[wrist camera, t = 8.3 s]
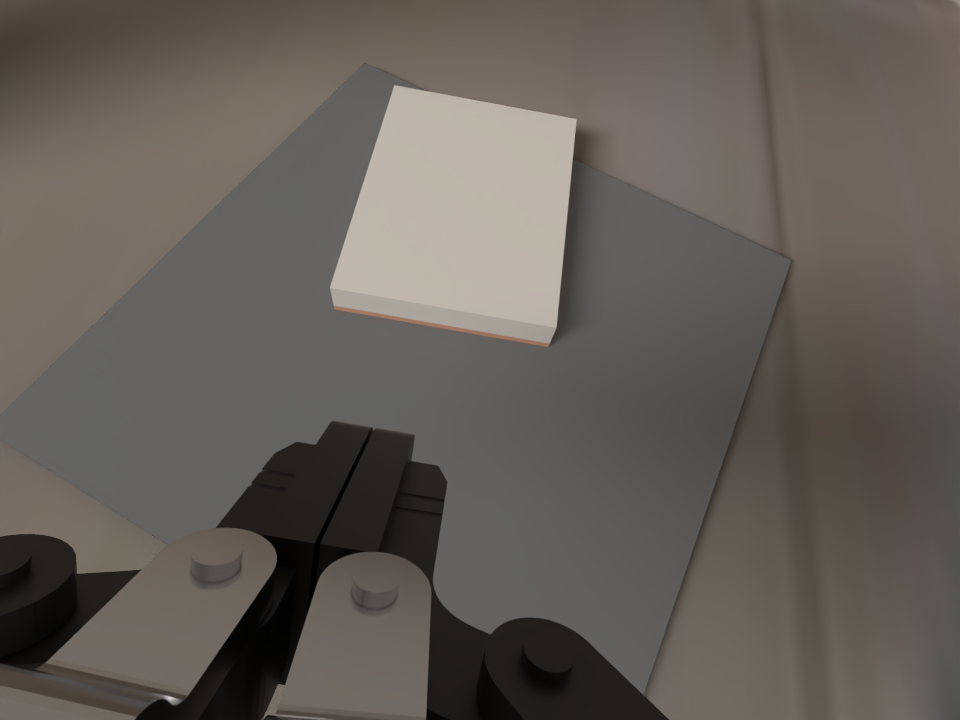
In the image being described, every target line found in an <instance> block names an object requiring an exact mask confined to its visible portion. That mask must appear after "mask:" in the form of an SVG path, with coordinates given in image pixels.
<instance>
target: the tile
mask: <svg viewBox="0 0 960 720" xmlns="http://www.w3.org/2000/svg"><path fill="white" fill-rule="evenodd" d="M576 120H577V119H573V118H567V117H562V116H557V115H551V114H546V113H540V112H535V111H530V110H524V109H519V108H514V107H508V106H503V105H498V104H492V103H487V102H482V101H476V100H471V99H465V98H460V97H455V96H449V95H444V94H439V93H433V92H428V91H423V90H417V89H412V88H406V87H401V86H396V85H394V88H393V91H392V94H391V97H390V101H389V104H388V107H387V110H386V113H385V116H384V119H383V123H382V126H381V129H380V132H379V135H378V138H377V141H376V144H375V148H374V151H373V154H372V157H371V160H370V163H369V166H368V170H367V173H366V176H365V179H364V182H363V185H362V188H361V191H360V195H359V198H358V201H357V204H356V207H355V210H354V213H353V217H352V220H351V223H350V226H349V229H348V232H347V235H346V239H345V242H344V245H343V248H342V251H341V254H340V257H339V260H338V264H337V267H336V270H335V273H334V276H333V279H332V282H331V286H330V291H331V295H332V300H333V304H334V309H335V310H341V311H346V312H352V313H358V314H363V315H369V316H375V317H380V318H386V319H392V320H397V321H403V322H409V323H414V324H420V325H425V326H431V327H437V328H442V329H448V330H454V331H459V332H465V333H471V334H476V335H482V336H488V337H493V338H499V339H505V340H510V341H516V342H522V343H527V344H533V345H539V346H544V347H548V346H549V344H550V342H551V339H552V337H553V335H554V333H555V330H556V328H557V317H558V307H559V297H560V286H561V276H562V265H563V255H564V245H565V234H566V224H567V213H568V203H569V192H570V182H571V172H572V161H573V151H574V140H575V130H576Z"/></svg>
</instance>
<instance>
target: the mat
mask: <svg viewBox="0 0 960 720" xmlns="http://www.w3.org/2000/svg"><path fill="white" fill-rule="evenodd" d="M394 85H396V86H401V87H406V88H412V89H417V90H422V89H420V88H418V87H416V86H414V85H411V84H409V83H407V82H405V81H403V80H401V79H399V78H396V77H394V76H392V75H390V74H388V73H386V72H383V71H381V70H379V69H377V68H375V67H373V66H370V65H368V64H366V63H364V64H363V65H362V66H361V67H360V68H359V69H358V70H357V71H356V72H355V73H354V74H353V75H352V76H351V77H350V78H349V79H348V80H347V81H346V82H345V83H344V84H343V85H342V86H341V87H339V88H338V89H337V90H336V91H335V92H334V93H333V94H332V95H331V96H330V97H329V98H328V99H327V100H326V101H325V102H324V103H323V104H322V105H321V106H320V107H319V108H318V109H317V110H316V111H315V112H314V113H313V114H312V115H310V116H309V117H308V118H307V119H306V120H305V121H304V122H303V123H302V124H301V125H300V126H299V127H298V128H297V129H296V130H295V131H294V132H293V133H292V134H291V135H290V136H289V137H288V138H287V139H286V140H285V141H284V142H282V143H281V144H280V145H279V146H278V147H277V148H276V149H275V150H274V151H273V152H272V153H271V154H270V155H269V156H268V157H267V158H266V159H265V160H264V161H263V162H262V163H261V164H260V165H259V166H258V167H257V168H256V169H255V170H253V171H252V172H251V173H250V174H249V175H248V176H247V177H246V178H245V179H244V180H243V181H242V182H241V183H240V184H239V185H238V186H237V187H236V188H235V189H234V190H233V191H232V192H231V193H230V194H229V195H228V196H227V197H226V198H224V199H223V200H222V201H221V202H220V203H219V204H218V205H217V206H216V207H215V208H214V209H213V210H212V211H211V212H210V213H209V214H208V215H207V216H206V217H205V218H204V219H203V220H202V221H201V222H200V223H199V224H198V225H196V226H195V227H194V228H193V229H192V230H191V231H190V232H189V233H188V234H187V235H186V236H185V237H184V238H183V239H182V240H181V241H180V242H179V243H178V244H177V245H176V246H175V247H174V248H173V249H172V250H171V251H170V252H169V253H167V254H166V255H165V256H164V257H163V258H162V259H161V260H160V261H159V262H158V263H157V264H156V265H155V266H154V267H153V268H152V269H151V270H150V271H149V272H148V273H147V274H146V275H145V276H144V277H143V278H142V279H141V280H139V281H138V282H137V283H136V284H135V285H134V286H133V287H132V288H131V289H130V290H129V291H128V292H127V293H126V294H125V295H124V296H123V297H122V298H121V299H120V300H119V301H118V302H117V303H116V304H115V305H114V306H113V307H112V308H110V309H109V310H108V311H107V312H106V313H105V314H104V315H103V316H102V317H101V318H100V319H99V320H98V321H97V322H96V323H95V324H94V325H93V326H92V327H91V328H90V329H89V330H88V331H87V332H86V333H85V334H84V335H82V336H81V337H80V338H79V339H78V340H77V341H76V342H75V343H74V344H73V345H72V346H71V347H70V348H69V349H68V350H67V351H66V352H65V353H64V354H63V355H62V356H61V357H60V358H59V359H58V360H57V361H56V362H55V363H53V364H52V365H51V366H50V367H49V368H48V369H47V370H46V371H45V372H44V373H43V374H42V375H41V376H40V377H39V378H38V379H37V380H36V381H35V382H34V383H33V384H32V385H31V386H30V387H29V388H28V389H27V390H26V391H24V392H23V393H22V394H21V395H20V396H19V397H18V398H17V399H16V400H15V401H14V402H13V403H12V404H11V405H10V406H9V407H8V408H7V409H6V410H5V411H4V412H3V413H2V414H1V415H0V440H2V441H3V442H5V443H6V444H8V445H10V446H11V447H13V448H14V449H16V450H18V451H19V452H21V453H22V454H24V455H25V456H27V457H29V458H30V459H32V460H33V461H35V462H37V463H38V464H40V465H41V466H43V467H45V468H46V469H48V470H49V471H51V472H53V473H54V474H56V475H57V476H59V477H61V478H62V479H64V480H65V481H67V482H69V483H70V484H72V485H73V486H75V487H77V488H78V489H80V490H81V491H83V492H85V493H86V494H88V495H89V496H91V497H92V498H94V499H96V500H97V501H99V502H100V503H102V504H104V505H105V506H107V507H108V508H110V509H112V510H113V511H115V512H116V513H118V514H120V515H121V516H123V517H124V518H126V519H128V520H129V521H131V522H132V523H134V524H136V525H137V526H139V527H140V528H142V529H144V530H145V531H147V532H148V533H150V534H152V535H153V536H155V537H156V538H158V539H159V540H161V541H163V542H164V543H166V544H167V545H168V544H170V543H172V542H173V541H175V540H176V539H178V538H181V537H183V536H185V535H188V534H190V533H193V532H197V531H201V530H205V529H212V528H216V527H217V525H218V524H219V523H220V522H221V520H222V519H223V518H224V517H225V515H226V514H227V513H228V512H229V510H230V509H231V508H232V506H233V505H234V504H235V503H236V501H237V500H238V499H239V498H240V496H241V495H242V494H243V493H244V491H245V490H246V489H247V487H248V486H251V483H252V481H253V480H254V479H255V477H256V476H257V475H258V474H259V472H262V468H263V467H264V466H265V465H266V463H267V462H268V461H269V460H270V458H271V457H272V456H273V455H274V453H276V452H278V451H280V450H282V449H284V448H286V447H288V446H289V445H291V444H293V443H295V442H302V443H308V444H313V445H316V444H317V442H318V441H319V439H320V438H321V436H322V434H323V433H324V431H325V430H326V428H327V427H328V425H329V424H330V422H331V421H339V422H345V423H351V424H356V425H362V426H368V427H373V431H374V429H375V428H380V429H386V430H392V431H398V432H404V433H409V434H415V440H414V448H413V454H412V461H414V462H420V463H426V464H432V465H438V466H439V468H440V470H441V471H442V473H443V475H444V477H445V479H446V480H447V482H448V483H447V489H446V496H445V502H444V509H443V515H442V522H441V528H440V535H439V541H438V548H437V554H436V561H435V567H434V574H433V585H434V590H435V592H436V595H437V597H438V598H439V600H440V601H441V603H442V604H443V605H444V606H445V608H446V609H447V610H448V611H449V612H451V613H452V614H453V615H454V616H455V617H457V618H458V619H460V620H461V621H463V622H465V623H467V624H469V625H471V626H473V627H475V628H477V629H479V630H482V631H484V632H486V633H488V634H492V632H493V631H494V630H495V629H496V628H497V627H499V626H500V625H502V624H503V623H505V622H507V621H510V620H513V619H517V618H524V617H534V618H542V619H547V620H551V621H554V622H557V623H559V624H562V625H564V626H566V627H568V628H570V629H572V630H573V631H575V632H576V633H578V634H579V635H581V636H582V637H583V638H584V639H585V640H587V641H588V642H589V643H590V644H591V645H592V646H593V647H594V648H595V649H596V650H597V651H598V652H599V653H600V654H601V655H602V656H603V657H604V658H605V659H606V660H608V661H609V662H610V663H611V664H612V665H613V666H614V667H615V668H616V669H617V670H618V671H619V672H620V673H621V674H622V675H623V676H624V677H625V678H626V679H627V680H628V681H629V682H630V683H631V684H632V685H633V686H634V687H636V688H637V689H638V690H639V691H640V692H641V693H642V694H643V695H644V692H645V689H646V686H647V683H648V680H649V677H650V674H651V671H652V669H653V666H654V663H655V660H656V657H657V654H658V651H659V648H660V645H661V642H662V639H663V636H664V633H665V630H666V627H667V624H668V622H669V619H670V616H671V613H672V610H673V607H674V604H675V601H676V598H677V595H678V592H679V589H680V586H681V583H682V580H683V578H684V575H685V572H686V569H687V566H688V563H689V560H690V557H691V554H692V551H693V548H694V545H695V542H696V539H697V536H698V534H699V531H700V528H701V525H702V522H703V519H704V516H705V513H706V510H707V507H708V504H709V501H710V498H711V495H712V492H713V490H714V487H715V484H716V481H717V478H718V475H719V472H720V469H721V466H722V463H723V460H724V457H725V454H726V451H727V448H728V445H729V443H730V440H731V437H732V434H733V431H734V428H735V425H736V422H737V419H738V416H739V413H740V410H741V407H742V404H743V401H744V399H745V396H746V393H747V390H748V387H749V384H750V381H751V378H752V375H753V372H754V369H755V366H756V363H757V360H758V357H759V355H760V352H761V349H762V346H763V343H764V340H765V337H766V334H767V331H768V328H769V325H770V322H771V319H772V316H773V313H774V311H775V308H776V305H777V302H778V299H779V296H780V293H781V290H782V287H783V284H784V281H785V278H786V275H787V272H788V269H789V266H790V264H791V261H792V260H790V259H788V258H786V257H784V256H781V255H779V254H777V253H775V252H773V251H771V250H768V249H766V248H764V247H762V246H760V245H758V244H755V243H753V242H751V241H749V240H747V239H745V238H742V237H740V236H738V235H736V234H734V233H732V232H729V231H727V230H725V229H723V228H721V227H719V226H716V225H714V224H712V223H710V222H708V221H706V220H704V219H701V218H699V217H697V216H695V215H693V214H691V213H688V212H686V211H684V210H682V209H680V208H678V207H675V206H673V205H671V204H669V203H667V202H665V201H662V200H660V199H658V198H656V197H654V196H652V195H649V194H647V193H645V192H643V191H641V190H639V189H636V188H634V187H632V186H630V185H628V184H626V183H623V182H621V181H619V180H617V179H615V178H613V177H610V176H608V175H606V174H604V173H602V172H600V171H598V170H595V169H593V168H591V167H589V166H587V165H585V164H582V163H580V162H578V161H576V160H574V159H573V161H572V172H571V182H570V192H569V203H568V213H567V224H566V234H565V245H564V255H563V265H562V276H561V286H560V297H559V307H558V317H557V328H556V330H555V333H554V335H553V337H552V339H551V342H550V344H549V346H548V347H544V346H539V345H533V344H527V343H522V342H516V341H510V340H505V339H499V338H493V337H488V336H482V335H476V334H471V333H465V332H459V331H454V330H448V329H442V328H437V327H431V326H425V325H420V324H414V323H409V322H403V321H397V320H392V319H386V318H380V317H375V316H369V315H363V314H358V313H352V312H346V311H341V310H335V309H334V304H333V300H332V295H331V291H330V286H331V282H332V279H333V276H334V273H335V270H336V267H337V264H338V260H339V257H340V254H341V251H342V248H343V245H344V242H345V239H346V235H347V232H348V229H349V226H350V223H351V220H352V217H353V213H354V210H355V207H356V204H357V201H358V198H359V195H360V191H361V188H362V185H363V182H364V179H365V176H366V173H367V170H368V166H369V163H370V160H371V157H372V154H373V151H374V148H375V144H376V141H377V138H378V135H379V132H380V129H381V126H382V123H383V119H384V116H385V113H386V110H387V107H388V104H389V101H390V97H391V94H392V91H393V88H394ZM423 91H424V90H423Z"/></svg>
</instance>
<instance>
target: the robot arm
mask: <svg viewBox="0 0 960 720" xmlns="http://www.w3.org/2000/svg"><path fill="white" fill-rule="evenodd" d="M414 440H415V434H409V433H404V432H398V431H392V430H386V429H380V428H375V429H374V431H373V427H368V426H362V425H356V424H351V423H345V422H339V421H331V422H330V424H329V425H328V427H327V428H326V430H325V431H324V433H323V434H322V436H321V438H320V439H319V441H318V442H317V444H316V445H313V444H308V443H302V442H295V443H293V444H291V445H289V446H288V447H286V448H284V449H282V450H280V451H278V452H276V453H274V455H273V456H272V457H271V458H270V460H269V461H268V462H267V463H266V465H265V466H264V467H263V468H262V472H259V474H258V475H257V476H256V477H255V479H254V480H253V481H252V483H251V486H248V487H247V489H246V490H245V491H244V493H243V494H242V495H241V496H240V498H239V499H238V500H237V501H236V503H235V504H234V505H233V506H232V508H231V509H230V510H229V512H228V513H227V514H226V515H225V517H224V518H223V519H222V520H221V522H220V523H219V524H218V525H217V527H216V528H212V529H205V530H201V531H197V532H193V533H190V534H188V535H185V536H183V537H181V538H178V539H176V540H175V541H173V542H172V543H170V544H168V545H167V546H166V547H165V548H164V549H162V550H161V551H160V552H159V553H158V554H157V555H156V556H155V557H154V558H153V559H152V560H151V561H150V562H149V563H148V564H147V565H146V566H145V567H144V568H143V569H141V570H132V571H118V572H102V573H85V574H77V567H76V554H75V552H74V550H73V548H72V547H71V546H70V545H69V544H67V543H65V542H64V541H62V540H60V539H57V538H54V537H50V536H45V535H35V534H19V535H9V536H3V537H0V720H669V719H668V718H667V717H666V716H665V715H664V714H662V713H661V712H660V711H659V710H658V709H657V708H656V707H655V706H654V705H653V704H652V703H651V702H650V701H649V700H648V699H647V698H646V697H645V696H644V695H643V694H642V693H641V692H640V691H639V690H638V689H637V688H636V687H634V686H633V685H632V684H631V683H630V682H629V681H628V680H627V679H626V678H625V677H624V676H623V675H622V674H621V673H620V672H619V671H618V670H617V669H616V668H615V667H614V666H613V665H612V664H611V663H610V662H609V661H608V660H606V659H605V658H604V657H603V656H602V655H601V654H600V653H599V652H598V651H597V650H596V649H595V648H594V647H593V646H592V645H591V644H590V643H589V642H588V641H587V640H585V639H584V638H583V637H582V636H581V635H579V634H578V633H576V632H575V631H573V630H572V629H570V628H568V627H566V626H564V625H562V624H559V623H557V622H554V621H551V620H547V619H542V618H534V617H524V618H517V619H513V620H510V621H507V622H505V623H503V624H502V625H500V626H499V627H497V628H496V629H495V630H494V631H493V632H492V634H488V633H486V632H484V631H482V630H479V629H477V628H475V627H473V626H471V625H469V624H467V623H465V622H463V621H461V620H460V619H458V618H457V617H455V616H454V615H453V614H452V613H451V612H449V611H448V610H447V609H446V608H445V606H444V605H443V604H442V603H441V601H440V600H439V598H438V597H437V595H436V592H435V590H434V585H433V574H434V567H435V561H436V554H437V548H438V541H439V535H440V528H441V522H442V515H443V509H444V502H445V496H446V489H447V483H448V482H447V480H446V479H445V477H444V475H443V473H442V471H441V470H440V468H439V466H438V465H432V464H426V463H420V462H414V461H412V454H413V448H414ZM278 684H282V685H285V687H284V690H283V693H282V697H281V700H280V703H279V706H278V709H277V712H276V714H275V716H271V715H267V716H266V717H265V719H264V714H265V712H266V710H267V708H268V706H269V704H270V701H271V699H272V697H273V694H274V692H275V690H276V687H277V685H278Z"/></svg>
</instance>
